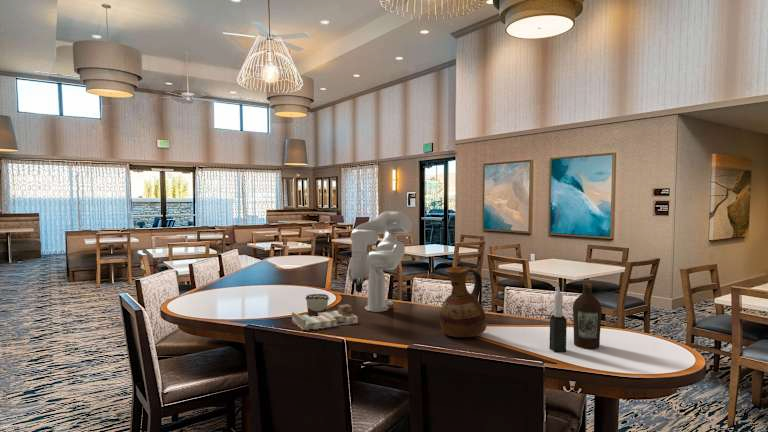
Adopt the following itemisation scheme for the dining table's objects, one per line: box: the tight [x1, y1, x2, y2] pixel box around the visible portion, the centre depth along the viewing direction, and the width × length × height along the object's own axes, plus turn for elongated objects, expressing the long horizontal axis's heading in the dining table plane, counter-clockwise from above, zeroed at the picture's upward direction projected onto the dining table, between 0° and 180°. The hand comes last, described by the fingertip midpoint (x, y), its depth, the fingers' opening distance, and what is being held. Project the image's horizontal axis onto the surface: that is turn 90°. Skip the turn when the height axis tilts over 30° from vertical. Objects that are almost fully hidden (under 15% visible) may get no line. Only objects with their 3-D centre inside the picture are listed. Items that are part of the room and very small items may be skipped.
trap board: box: [291, 309, 359, 331], centre depth 205 cm, size 27×16×5 cm, turn 120°
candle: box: [549, 286, 568, 353], centre depth 167 cm, size 5×5×25 cm
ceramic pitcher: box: [439, 266, 487, 338], centre depth 187 cm, size 20×20×30 cm
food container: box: [305, 293, 330, 316], centre depth 222 cm, size 12×6×10 cm, turn 84°
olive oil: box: [572, 283, 603, 350], centre depth 173 cm, size 11×11×25 cm
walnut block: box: [337, 303, 353, 316], centre depth 210 cm, size 5×5×4 cm
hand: (358, 291), depth 214 cm, fingers closed
